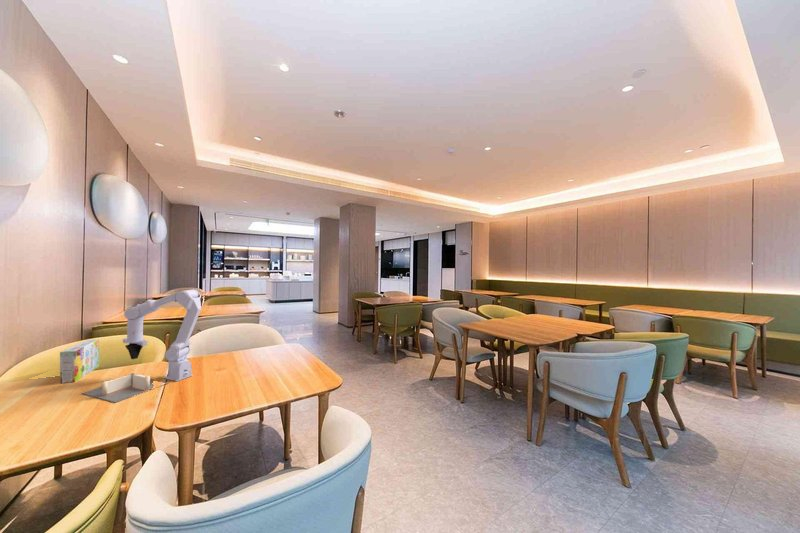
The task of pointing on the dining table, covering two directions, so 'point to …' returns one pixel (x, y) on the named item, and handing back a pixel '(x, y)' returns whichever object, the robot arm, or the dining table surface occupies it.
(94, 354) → the snack box
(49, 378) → the dining table surface
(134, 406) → the dining table surface
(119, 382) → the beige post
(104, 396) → the card
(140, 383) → the fixed fence section
